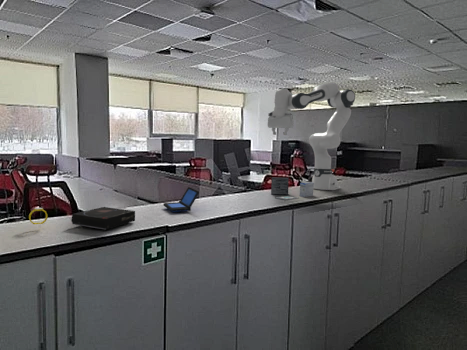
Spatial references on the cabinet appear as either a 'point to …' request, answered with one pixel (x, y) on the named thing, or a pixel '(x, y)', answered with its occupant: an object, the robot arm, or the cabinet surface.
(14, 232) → the cabinet surface
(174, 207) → the handheld game console
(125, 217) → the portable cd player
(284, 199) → the card
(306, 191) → the medicine box
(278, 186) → the small box
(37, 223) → the yellow ring
